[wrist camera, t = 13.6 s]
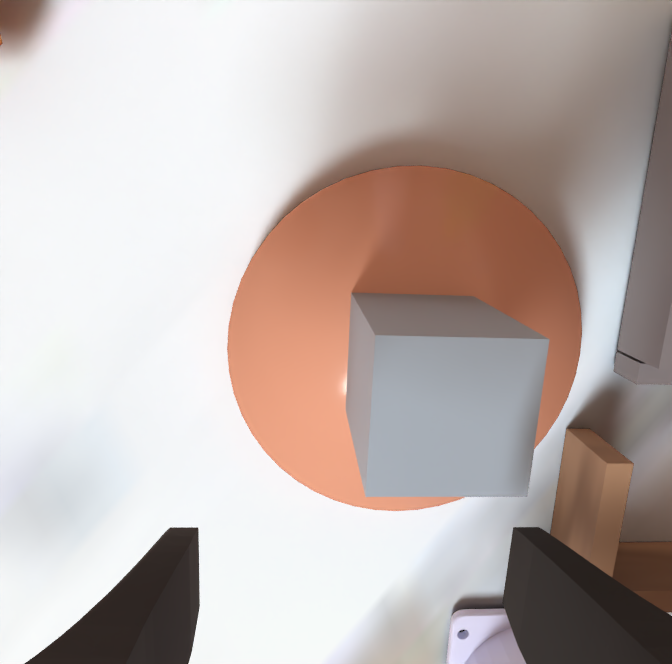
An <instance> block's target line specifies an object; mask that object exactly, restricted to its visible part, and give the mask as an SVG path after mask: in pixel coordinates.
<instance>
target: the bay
mask: <svg viewBox="0 0 672 664" xmlns="http://www.w3.org/2000/svg"><path fill="white" fill-rule="evenodd" d="M633 465H634V463H632V462H631V461H630V460H629V459H627V458H626V457H625V456H624V455H622V454H621V453H620V452H618V451H617V450H616V449H615V448H613V447H612V446H611V445H610V444H608V443H607V442H606V441H605V440H603V439H602V438H601V437H600V436H598V435H597V434H596V433H595V432H593V431H592V430H591V429H566V435H565V441H564V448H563V454H562V461H561V467H560V474H559V480H558V487H557V493H556V500H555V506H554V513H553V520H552V526H551V533H550V535H552V536H553V537H555V538H556V539H558V540H559V541H561V542H562V543H564V544H565V545H566V546H568V547H569V548H571V549H572V550H574V551H575V552H576V553H578V554H579V555H581V556H582V557H583V558H585V559H586V560H588V561H589V562H590V563H592V564H593V565H595V566H596V567H598V568H599V569H600V570H602V571H603V572H605V573H606V574H608V575H609V576H611V577H612V578H613V579H615V580H616V581H618V582H619V583H621V584H622V585H624V586H625V587H627V588H628V589H630V590H631V591H633V592H634V593H636V594H637V595H639V596H641V597H642V598H644V599H645V600H647V601H649V602H650V603H652V604H653V605H655V606H656V607H658V608H660V609H661V610H663V611H664V612H672V542H619V539H620V533H621V528H622V523H623V518H624V512H625V507H626V502H627V496H628V491H629V486H630V481H631V475H632V470H633Z"/></svg>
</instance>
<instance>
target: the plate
mask: <svg viewBox="0 0 672 664" xmlns="http://www.w3.org/2000/svg"><path fill="white" fill-rule="evenodd" d="M351 293H384V294H419V295H454V296H474V297H476V298H478V299H480V300H481V301H483V302H485V303H487V304H488V305H490V306H492V307H494V308H495V309H497V310H499V311H501V312H503V313H504V314H506V315H508V316H510V317H511V318H513V319H515V320H517V321H518V322H520V323H522V324H524V325H525V326H527V327H529V328H531V329H533V330H534V331H536V332H538V333H540V334H541V335H543V336H545V337H547V338H548V339H550V340H549V347H548V354H547V361H546V368H545V375H544V382H543V389H542V396H541V403H540V410H539V417H538V424H537V431H536V439H535V446H534V449H535V447H536V446H537V445H538V444H539V443H540V442H541V440H542V439H543V438H544V437H545V436H546V434H547V433H548V431H549V430H550V428H551V427H552V425H553V424H554V422H555V421H556V419H557V418H558V416H559V414H560V412H561V410H562V408H563V406H564V404H565V402H566V400H567V398H568V395H569V392H570V390H571V387H572V384H573V381H574V378H575V375H576V370H577V366H578V361H579V357H580V348H581V337H582V326H581V309H580V303H579V298H578V292H577V288H576V285H575V282H574V279H573V275H572V272H571V269H570V267H569V265H568V263H567V261H566V259H565V257H564V254H563V252H562V250H561V248H560V247H559V245H558V244H557V242H556V241H555V239H554V238H553V236H552V235H551V233H550V232H549V230H548V229H547V228H546V227H545V226H544V224H543V223H542V222H541V221H540V220H539V219H538V218H537V217H536V216H535V215H534V214H533V212H532V211H531V210H529V209H528V208H527V207H526V206H524V205H523V204H522V203H521V202H519V201H518V200H517V199H516V198H515V197H513V196H512V195H510V194H508V193H507V192H505V191H503V190H502V189H500V188H498V187H497V186H495V185H493V184H491V183H489V182H487V181H484V180H482V179H479V178H477V177H475V176H472V175H470V174H466V173H462V172H458V171H454V170H450V169H446V168H438V167H429V166H396V167H390V168H383V169H377V170H372V171H368V172H365V173H362V174H358V175H355V176H352V177H349V178H346V179H343V180H341V181H339V182H337V183H334V184H332V185H330V186H328V187H326V188H324V189H322V190H320V191H319V192H317V193H315V194H314V195H312V196H311V197H309V198H308V199H306V200H304V201H303V202H302V203H300V204H299V205H298V206H297V207H296V208H294V209H293V210H292V211H291V212H290V213H289V214H287V215H286V216H285V217H284V218H283V219H282V220H281V221H280V222H279V223H278V225H277V226H276V227H275V228H274V229H273V230H272V231H271V232H270V233H269V234H268V236H267V237H266V239H265V240H264V242H263V243H262V244H261V246H260V247H259V249H258V250H257V252H256V253H255V255H254V256H253V258H252V259H251V261H250V263H249V265H248V267H247V269H246V271H245V273H244V275H243V277H242V279H241V282H240V285H239V288H238V291H237V293H236V296H235V299H234V302H233V307H232V312H231V317H230V322H229V330H228V347H227V350H228V363H229V373H230V378H231V382H232V387H233V391H234V395H235V398H236V400H237V403H238V406H239V408H240V411H241V414H242V416H243V418H244V420H245V422H246V423H247V425H248V427H249V429H250V431H251V433H252V434H253V436H254V437H255V439H256V440H257V441H258V443H259V444H260V445H261V447H262V448H263V450H264V451H265V452H266V453H267V454H268V455H269V456H270V457H271V458H272V459H273V460H274V462H275V463H276V464H277V465H278V466H279V467H280V468H282V469H283V470H284V471H285V472H287V473H288V474H289V475H290V476H292V477H293V478H294V479H295V480H297V481H298V482H300V483H302V484H303V485H305V486H307V487H308V488H310V489H311V490H313V491H315V492H317V493H319V494H322V495H324V496H326V497H328V498H331V499H333V500H336V501H339V502H342V503H346V504H349V505H352V506H356V507H362V508H368V509H373V510H388V511H403V510H418V509H423V508H429V507H434V506H440V505H443V504H446V503H449V502H453V501H456V500H459V499H462V498H464V497H365V492H364V488H363V484H362V479H361V475H360V471H359V466H358V462H357V458H356V453H355V449H354V445H353V440H352V436H351V432H350V427H349V423H348V418H347V414H346V410H345V409H346V388H347V368H348V347H349V327H350V306H351Z"/></svg>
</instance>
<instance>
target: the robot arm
mask: <svg viewBox="0 0 672 664" xmlns="http://www.w3.org/2000/svg"><path fill="white" fill-rule="evenodd" d="M503 605H504V608H503V609H462V610H458V611H456V612H455V613H454V614H453V615H452V617H451V622H450V631H449V641H448V650H447V659H446V664H672V616H671V615H669V614H668V613H666V612H664V611H663V610H661V609H660V608H658V607H656V606H655V605H653V604H652V603H650V602H649V601H647V600H645V599H644V598H642V597H641V596H639V595H637V594H636V593H634V592H633V591H631V590H630V589H628V588H627V587H625V586H624V585H622V584H621V583H619V582H618V581H616V580H615V579H613V578H612V577H611V576H609V575H608V574H606V573H605V572H603V571H602V570H600V569H599V568H598V567H596V566H595V565H593V564H592V563H590V562H589V561H588V560H586V559H585V558H583V557H582V556H581V555H579V554H578V553H576V552H575V551H574V550H572V549H571V548H569V547H568V546H566V545H565V544H564V543H562V542H561V541H559V540H558V539H556V538H555V537H553V536H552V535H550V534H549V533H547V532H546V531H544V530H542V529H541V528H539V527H513V534H512V541H511V548H510V555H509V562H508V569H507V576H506V583H505V590H504V597H503ZM199 606H200V604H199V542H198V528H169V529H168V530H167V531H166V532H165V533H164V534H163V535H162V536H161V538H160V539H159V540H158V541H157V542H156V543H155V544H154V545H153V547H152V548H151V549H150V550H149V551H148V552H147V553H146V554H145V556H144V557H143V558H142V559H141V560H140V561H139V562H138V563H137V564H136V565H135V566H134V567H133V568H132V570H131V571H130V572H129V573H128V574H127V575H126V576H125V577H124V578H123V579H122V580H121V581H120V582H119V583H118V584H117V585H116V586H115V587H114V588H113V589H112V590H111V591H110V592H109V593H108V594H107V595H106V596H105V597H104V598H103V599H102V600H101V601H100V602H98V603H97V604H96V605H95V606H94V607H93V608H92V609H91V610H90V611H89V612H88V613H87V614H86V615H84V616H83V617H82V618H81V619H80V620H79V621H78V622H77V623H76V624H74V625H73V626H72V627H71V628H70V629H69V630H67V631H66V632H65V633H64V634H63V635H62V636H60V637H59V638H58V639H57V640H55V641H54V642H53V643H51V644H50V645H49V646H48V647H46V648H45V649H44V650H43V651H41V652H40V653H39V654H37V655H36V656H35V657H33V658H32V659H30V660H29V661H28V662H26V663H25V664H188V663H189V659H190V656H191V652H192V647H193V641H194V636H195V630H196V624H197V618H198V612H199ZM463 629H464V630H465V631H463V632H459V631H460V630H463Z"/></svg>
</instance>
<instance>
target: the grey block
mask: <svg viewBox="0 0 672 664" xmlns="http://www.w3.org/2000/svg"><path fill="white" fill-rule="evenodd" d="M549 340H550V339H548V338H547V337H545V336H543V335H541V334H540V333H538V332H536V331H534V330H533V329H531V328H529V327H527V326H525V325H524V324H522V323H520V322H518V321H517V320H515V319H513V318H511V317H510V316H508V315H506V314H504V313H503V312H501V311H499V310H497V309H495V308H494V307H492V306H490V305H488V304H487V303H485V302H483V301H481V300H480V299H478V298H476V297H474V296H454V295H419V294H384V293H351V306H350V327H349V347H348V368H347V388H346V409H345V410H346V414H347V418H348V423H349V427H350V432H351V436H352V440H353V445H354V449H355V453H356V458H357V462H358V466H359V471H360V475H361V479H362V484H363V488H364V492H365V497H527V495H528V488H529V481H530V474H531V467H532V460H533V453H534V446H535V439H536V431H537V424H538V417H539V410H540V403H541V396H542V389H543V382H544V375H545V368H546V361H547V354H548V347H549Z"/></svg>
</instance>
